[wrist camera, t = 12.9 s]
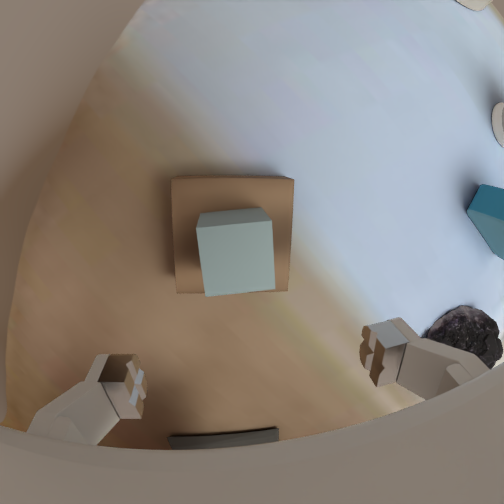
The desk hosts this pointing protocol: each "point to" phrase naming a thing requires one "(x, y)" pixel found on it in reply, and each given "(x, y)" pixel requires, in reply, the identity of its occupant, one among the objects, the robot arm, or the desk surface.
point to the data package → (489, 216)
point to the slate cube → (236, 251)
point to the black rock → (469, 334)
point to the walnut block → (221, 199)
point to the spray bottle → (498, 122)
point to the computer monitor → (223, 440)
